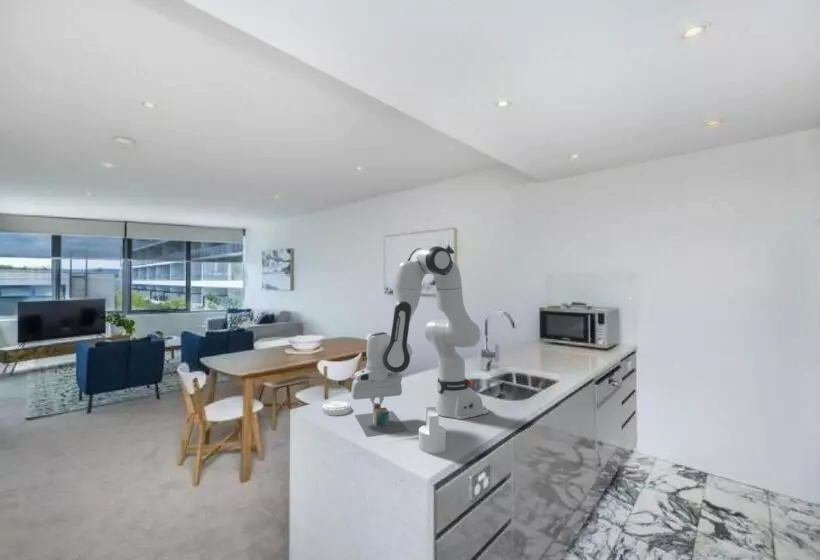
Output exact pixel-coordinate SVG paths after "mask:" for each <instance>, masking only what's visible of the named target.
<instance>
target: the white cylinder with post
mask: <svg viewBox="0 0 820 560" xmlns="http://www.w3.org/2000/svg"><path fill="white" fill-rule="evenodd" d="M425 408H426V410H425V413H426V417H425V420H426V421H425V424H424V425H421V426H420V427H419V428H418V449H419V450H420V451H421V452H422V453H427V454H433V455H435V454H440V453H442V452H444V451H446V448H447V447H446V446H447V445H446V444H447V443H446V440H447V439H446V436H447V435H446V433H447V431H446V428H445V426H442V425H440V424H439V423H440V422H439V418H440V417H439V416H440V415H438V413H437V411H436V406H435V407H434V406H427V407H425ZM434 453H435V454H434Z"/></svg>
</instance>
